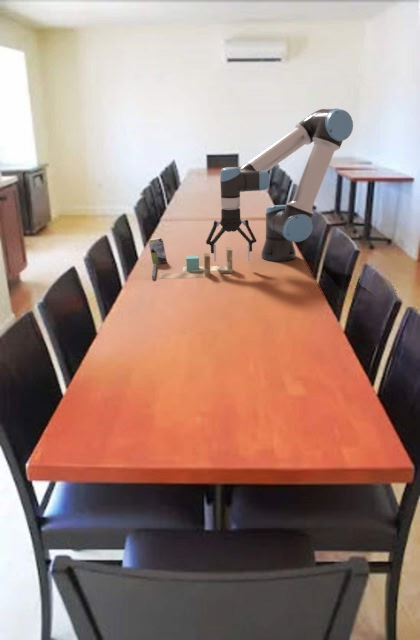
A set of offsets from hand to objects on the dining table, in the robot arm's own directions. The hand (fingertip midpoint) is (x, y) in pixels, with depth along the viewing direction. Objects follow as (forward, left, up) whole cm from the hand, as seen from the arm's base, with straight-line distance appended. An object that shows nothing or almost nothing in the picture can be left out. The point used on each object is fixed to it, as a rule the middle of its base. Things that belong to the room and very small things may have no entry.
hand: (231, 260), depth 231 cm
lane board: (+19, +5, -4) cm, 20 cm away
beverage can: (+30, -12, -5) cm, 33 cm away
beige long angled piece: (+10, 0, -4) cm, 11 cm away
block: (+16, 0, -3) cm, 16 cm away
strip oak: (+19, +9, -4) cm, 22 cm away
